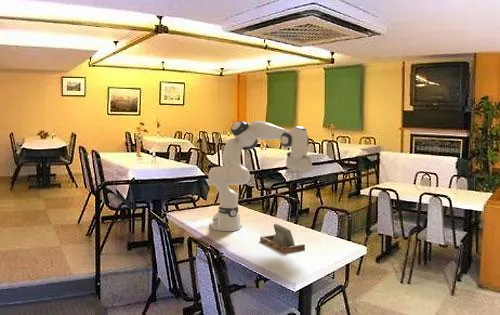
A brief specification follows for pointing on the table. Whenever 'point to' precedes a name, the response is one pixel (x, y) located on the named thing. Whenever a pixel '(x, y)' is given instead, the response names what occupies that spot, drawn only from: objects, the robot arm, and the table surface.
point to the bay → (283, 249)
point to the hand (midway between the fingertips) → (298, 178)
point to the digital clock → (283, 236)
